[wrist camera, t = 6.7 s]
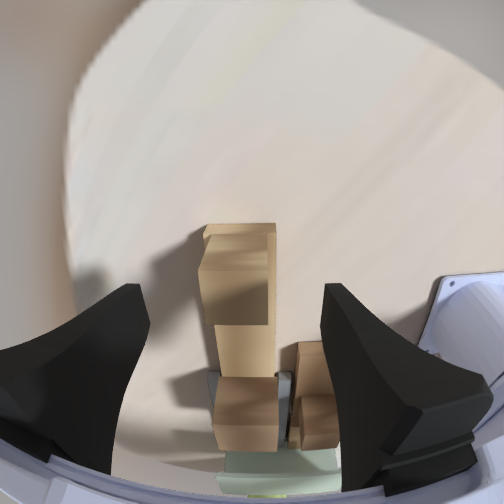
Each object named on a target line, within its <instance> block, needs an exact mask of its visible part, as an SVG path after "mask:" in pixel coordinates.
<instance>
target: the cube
mask: <svg viewBox="0 0 504 504" xmlns="http://www.w3.org/2000/svg"><path fill="white" fill-rule="evenodd" d="M212 427H213V430H214V434H215V437H216V441H217V444H218V447H219V450H223V451H246V452H277V444H278V432H279V408H278V377H224V376H219V378H218V385H217V392H216V398H215V405H214V412H213V419H212Z"/></svg>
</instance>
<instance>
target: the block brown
mask: <svg viewBox="0 0 504 504" xmlns="http://www.w3.org/2000/svg"><path fill="white" fill-rule="evenodd" d="M292 417H299V428H300V442H301V451H310V450H322V449H332V448H337V446H338V444H339V441H340V434H339V422H338V413H337V405H336V399H335V394H334V390H333V386H332V382H331V378H330V374H329V370H328V366H327V362H326V358H325V354H324V350H323V345H322V341H318V342H298V351H297V361H296V371H295V380H294V389H293V398H292Z"/></svg>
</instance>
